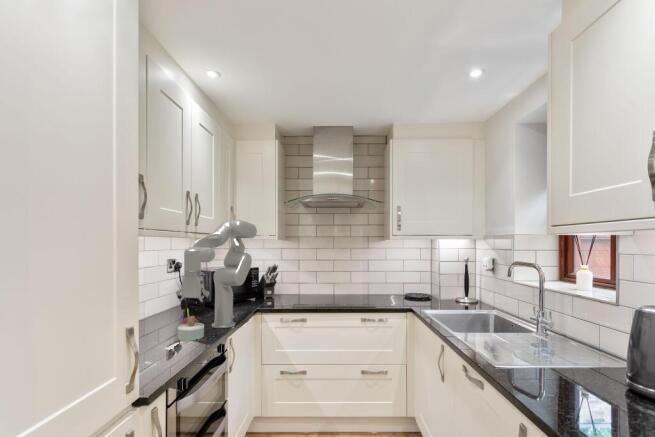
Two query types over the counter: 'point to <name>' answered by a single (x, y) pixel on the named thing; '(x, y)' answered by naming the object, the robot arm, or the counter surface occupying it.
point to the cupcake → (187, 319)
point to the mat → (171, 346)
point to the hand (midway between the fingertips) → (192, 309)
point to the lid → (191, 325)
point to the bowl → (190, 335)
